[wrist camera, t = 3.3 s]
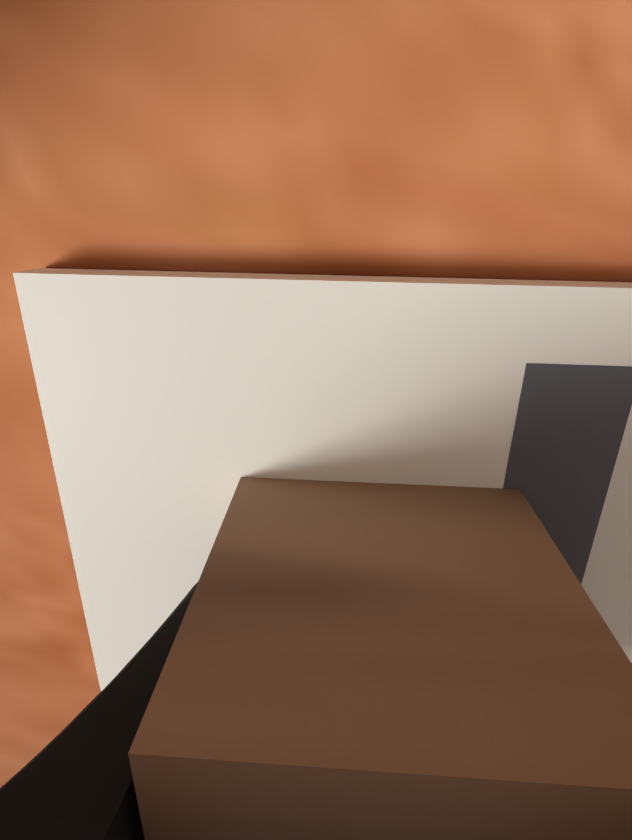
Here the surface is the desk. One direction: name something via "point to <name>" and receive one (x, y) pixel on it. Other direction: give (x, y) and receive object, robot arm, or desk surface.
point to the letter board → (321, 413)
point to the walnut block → (387, 677)
